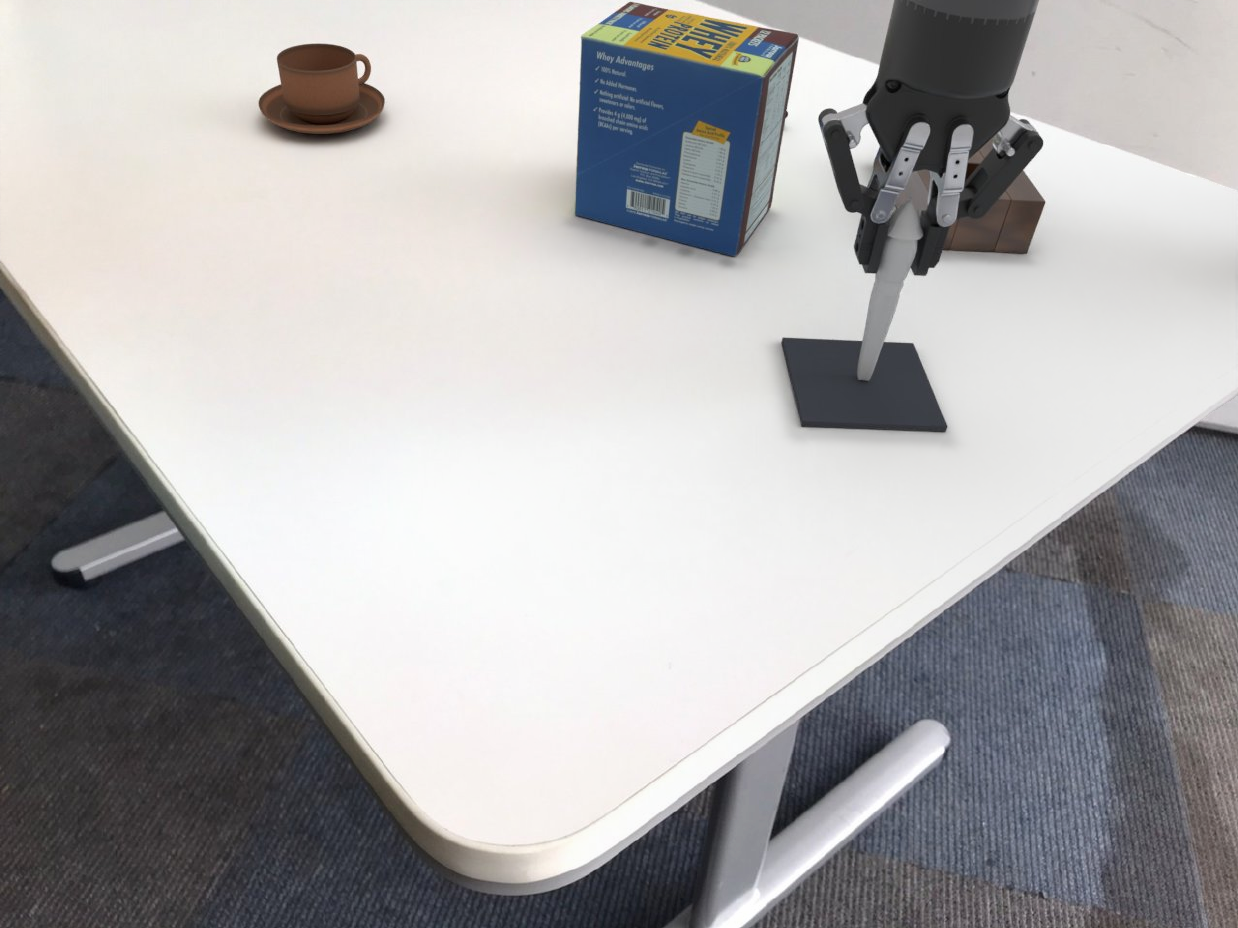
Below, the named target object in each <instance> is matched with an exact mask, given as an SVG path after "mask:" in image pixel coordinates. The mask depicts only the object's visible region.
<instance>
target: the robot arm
mask: <svg viewBox="0 0 1238 928" xmlns="http://www.w3.org/2000/svg"><path fill="white" fill-rule="evenodd" d="M1039 2H1040V0H893V4H892V9H891V12H890V18H889V23H888V26H887V31H886V35H885V39H884V43H883V49H882V52H881V57H880V61H879V67H878V70H877V71H878V72H877V76H876V78H875V80H874V82H873V84H872V85H871V87H870V88H869V89H868V90H867V92H866V93H865V94H864V96H863V99H862V103H860V104H857V105H854V106H852V107H849V108H847V109H843V110H841V111H839V112H837V110H836V109H834V108H831V107H829V108H824V109H823V110H822V111H821V112H820V113H819V115H818V118H817V121H818V124H819V128H820V131H821V135H822V138H823V142H824V146H825V149H826V153H827V156H828V160H829V164H830V168H831V171H832V174H833V178H834V181H835V184H836V189H837V191H838V195H839V197H840V199H841V202H842V204H843V207H844V209H845V211H847V212H848V213H851V214H854V213H858V214H860V219H859V223H858V226H857V231H856V235H855V240H854V242H853V243H854V244H853V251H854V255H855V258H856V260H857V262H858V265H861V267H862V269H863V272H864V274H872V275H876V273H877V272H878V269H879V265H880V261H881V257H882V253H883V249H884V246H885V242H886V238H887V234H888V230H889V226H890V224H889V222H888V219H889V218H890V216H891V215H892V213H893V211H894V207H895V203H896V200H897V198H898V195H899V193H900V192H903V191H904V189H905V187H906V185H907V182H908V180H909V177H910V175H911V173H912V172H914V171H919V170H924V169H926V170H929V171H930V186H929V194H928V208H927V211H926V210H922V211H921V215H920V225H921V228H922V230H923V237H922V238H920V239H918V240H917V251H916V254H915V258H914V260H913V263H912V265H911V268H910V271H911V272H912V275H913V276H915V277H916V276H917V277H926V276H927V275H928V272H929V270H930V269H935V268H936V266H937V265H938V264H939V262H940V260H941V257H942V253H943V251H944V250H943V247H944V244H945V240H946V237H947V234H948V230H949V228H950V226H951V225H952V224H953V223H954V222H955V221H956V220H958V219H960V218H964V217H968V216H969V217H971V218H972V219H979V218H981V217H983V216H984V215H985V214H986V213H987V212H988V210H989V209H990V208H991V207H992V206H993V205H994V203H995V202H996V201H997V200H998V199H999V198H1000V196H1001V195H1002V194H1003V193H1004V192H1005V191H1006V190H1007V188H1008V187H1009V186H1010V185H1011V184H1012V183H1013V181H1014V180H1015V179H1016V178H1017V177H1018V176H1019V174H1020V173H1021V172H1022V171H1025V169H1026V167H1027V166H1028V165H1029V164H1030V163H1031V162H1032V161H1033V159H1034V158H1035V157H1036V156H1037V155H1038V154H1039V153H1040V152H1041V150H1042V148H1043V146H1044V140H1043V137H1042V136H1041V135H1040V133H1039V132H1038V130H1037V129H1036V128H1035V126H1034V125H1032V124H1031V122H1030V121H1029V120H1028V119H1026V118H1020V119H1019V118H1016V117H1015V116H1013V115H1011V107H1010V106H1011V105H1010V103H1009V94H1010V90H1011V88H1012V85H1013V84H1014V81H1015V78H1016V75H1017V72H1018V70H1019V66H1020V63H1021V60H1022V57H1023V53H1024V50H1025V47H1026V43H1027V41H1028V38H1029V34H1030V31H1031V28H1032V25H1033V22H1034V19H1035V15H1036V12H1037V9H1038V5H1039ZM866 125H869V128H870V129H871V131H872V133H873V135H874V137H875V139H876V141H877V143H878V146H879V148H878V150H877V153H876V154H875V158H874V160H873V165H872V173H871V175H870V178H869V181H868V183H867V186H866V185H863V184H861V183H860V181H859V177H858V174H857V173H858V172H857V170H856V166H855V162H854V157H853V154H852V149H855V148H856V147H857V146H858V145H859V144H860V142H861V139H862V138H861V132H862V130H863V129H864V127H865V126H866ZM995 135H996V136H995ZM994 136H995V138H994V140H993V149H992V150H991V151H990V152H989V154H988V155H987V156H986V157H985V158H984V160H983V161H982V162H981V163H980V164H979V166H978V167H977V168H976V169H975V170H974V172H973V173H972V174H971V175H970V177H969V178H968V179H967V180H966V181H965V177H966V170H967V163H968V160H969V159H970V158H971V157H972V156H973V155H974V154H975V153H976V152H977V151H978V150H980V149H981V148H982V147H983V146H984V145H985V144H986V143H987V142H988V141H989V140H991V139H992V138H993V137H994Z"/></svg>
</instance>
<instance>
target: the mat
mask: <svg viewBox="0 0 1238 928" xmlns="http://www.w3.org/2000/svg"><path fill="white" fill-rule="evenodd" d="M862 341H863V340H852V339H850V340H849V339H825V338H806V337H805V338H803V337H782V338H781V346H782V351H783V354H784V358H785V363H786V367H787V371H788V376H789V379H790V383H791V387H792V392H793V396H794V400H795V405H796V408H797V412H798V418H799V421H800V425H801V427H812V428H813V427H814V428H837V429H839V428H840V429H860V430H861V429H864V430H888V431H915V432H916V431H917V432H941V433H943V432H944V433H945V432H947V429H948V424H947V421H946V419H945V417H944V414H943V412H942V409H941V407H940V404H939V402H938V400H937V397H936V395H935V393H934V390H933V388H932V385H931V382H930V380H929V378H928V376H927V373H926V371H925V368H924V366H923V363H922V361H921V359H920V356H919V354H918V351H917V349H916V347H915V344H914V342H896V341H895V342H894V341H884V343H883V346H882V349H881V351H880V354H879V357H878V360H877V363H876V366H875V368H874V371H873V374H872V376H871V378H870V380H869V381H865V380H858V377H857V369H858V362H859V357H860V351H861V346H862Z"/></svg>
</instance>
